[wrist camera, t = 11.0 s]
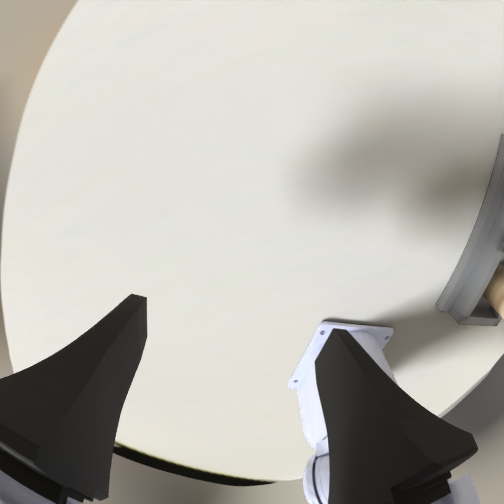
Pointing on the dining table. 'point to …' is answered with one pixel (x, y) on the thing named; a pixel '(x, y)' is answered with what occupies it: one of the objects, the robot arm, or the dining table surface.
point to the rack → (479, 258)
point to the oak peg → (496, 290)
